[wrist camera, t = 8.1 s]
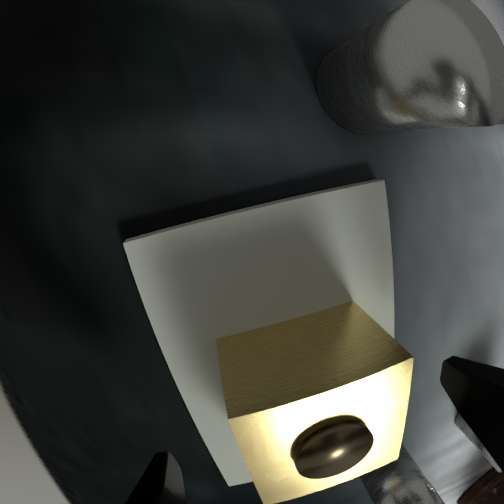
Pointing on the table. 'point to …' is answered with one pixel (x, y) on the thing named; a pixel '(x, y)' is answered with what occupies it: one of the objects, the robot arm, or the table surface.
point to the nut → (315, 399)
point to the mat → (258, 285)
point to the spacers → (416, 126)
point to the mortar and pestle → (486, 490)
